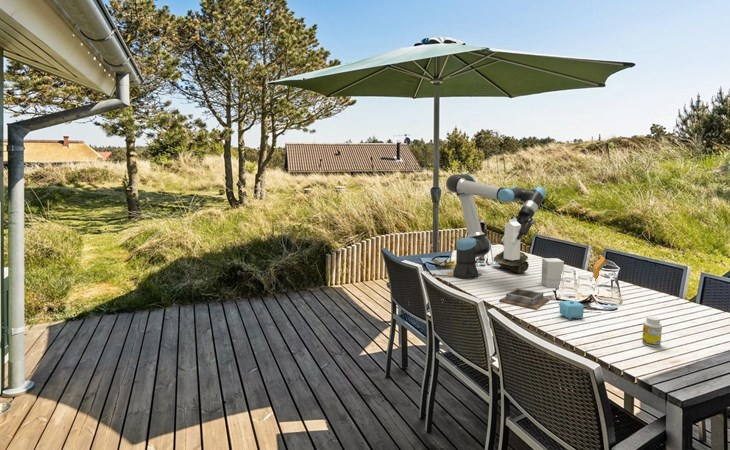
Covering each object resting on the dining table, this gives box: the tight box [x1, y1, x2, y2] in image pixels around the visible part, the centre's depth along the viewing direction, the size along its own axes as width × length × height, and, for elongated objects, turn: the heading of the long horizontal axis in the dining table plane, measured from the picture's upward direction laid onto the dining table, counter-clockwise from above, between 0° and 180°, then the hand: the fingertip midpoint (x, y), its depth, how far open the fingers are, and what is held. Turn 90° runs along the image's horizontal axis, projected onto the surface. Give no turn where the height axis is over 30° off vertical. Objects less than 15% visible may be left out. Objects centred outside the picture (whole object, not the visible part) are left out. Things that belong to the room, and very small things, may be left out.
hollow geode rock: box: [493, 250, 530, 275], centre depth 258 cm, size 28×13×15 cm
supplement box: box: [540, 257, 565, 288], centre depth 224 cm, size 9×9×15 cm
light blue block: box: [556, 300, 585, 320], centre depth 175 cm, size 12×6×8 cm, turn 96°
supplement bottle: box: [641, 315, 663, 348], centre depth 147 cm, size 6×6×10 cm
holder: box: [499, 287, 550, 311], centre depth 197 cm, size 18×18×4 cm
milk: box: [503, 218, 522, 260], centre depth 215 cm, size 6×6×22 cm
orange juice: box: [592, 255, 610, 281], centre depth 206 cm, size 8×9×20 cm
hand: (507, 242), depth 213 cm, fingers closed on milk, 6 cm apart
